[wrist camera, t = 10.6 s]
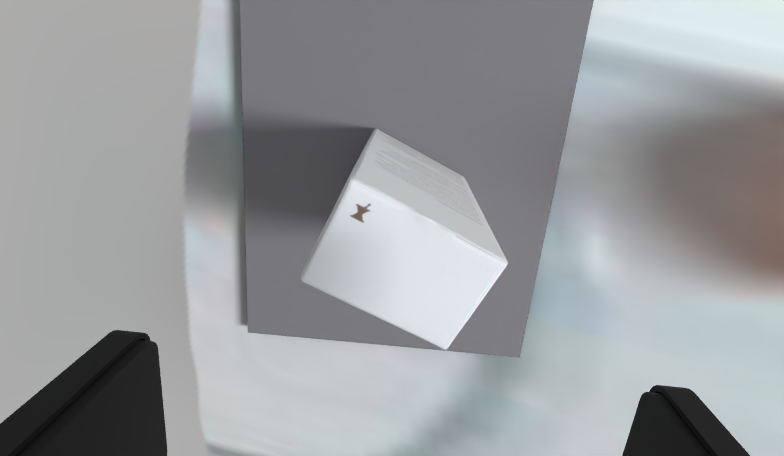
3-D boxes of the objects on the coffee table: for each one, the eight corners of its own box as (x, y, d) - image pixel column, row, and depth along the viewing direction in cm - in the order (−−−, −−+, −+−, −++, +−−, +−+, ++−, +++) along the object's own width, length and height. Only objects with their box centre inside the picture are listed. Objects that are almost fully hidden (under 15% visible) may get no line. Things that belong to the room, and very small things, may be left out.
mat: (516, 350, 31) (519, 357, 30) (251, 326, 31) (247, 332, 30) (590, -13, 23) (596, -16, 23) (243, -44, 24) (238, -47, 23)
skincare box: (341, 191, 27) (291, 280, 15) (375, 126, 25) (348, 171, 14) (431, 238, 27) (447, 356, 16) (468, 177, 26) (514, 259, 15)
